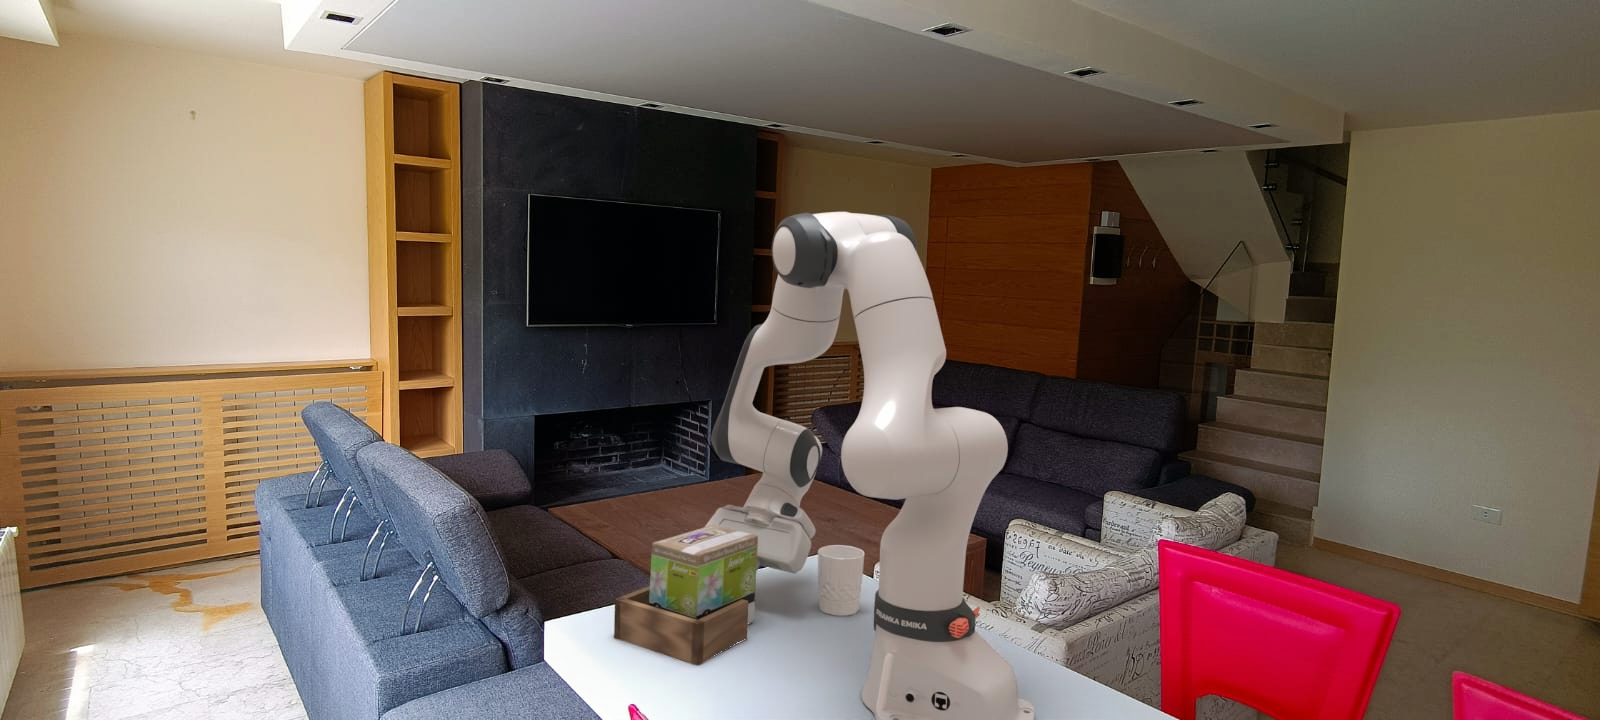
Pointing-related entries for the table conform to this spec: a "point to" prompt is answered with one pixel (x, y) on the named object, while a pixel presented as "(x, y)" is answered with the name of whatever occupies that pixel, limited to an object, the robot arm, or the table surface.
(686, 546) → the tea box
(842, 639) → the table surface
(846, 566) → the white cup
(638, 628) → the wooden box
